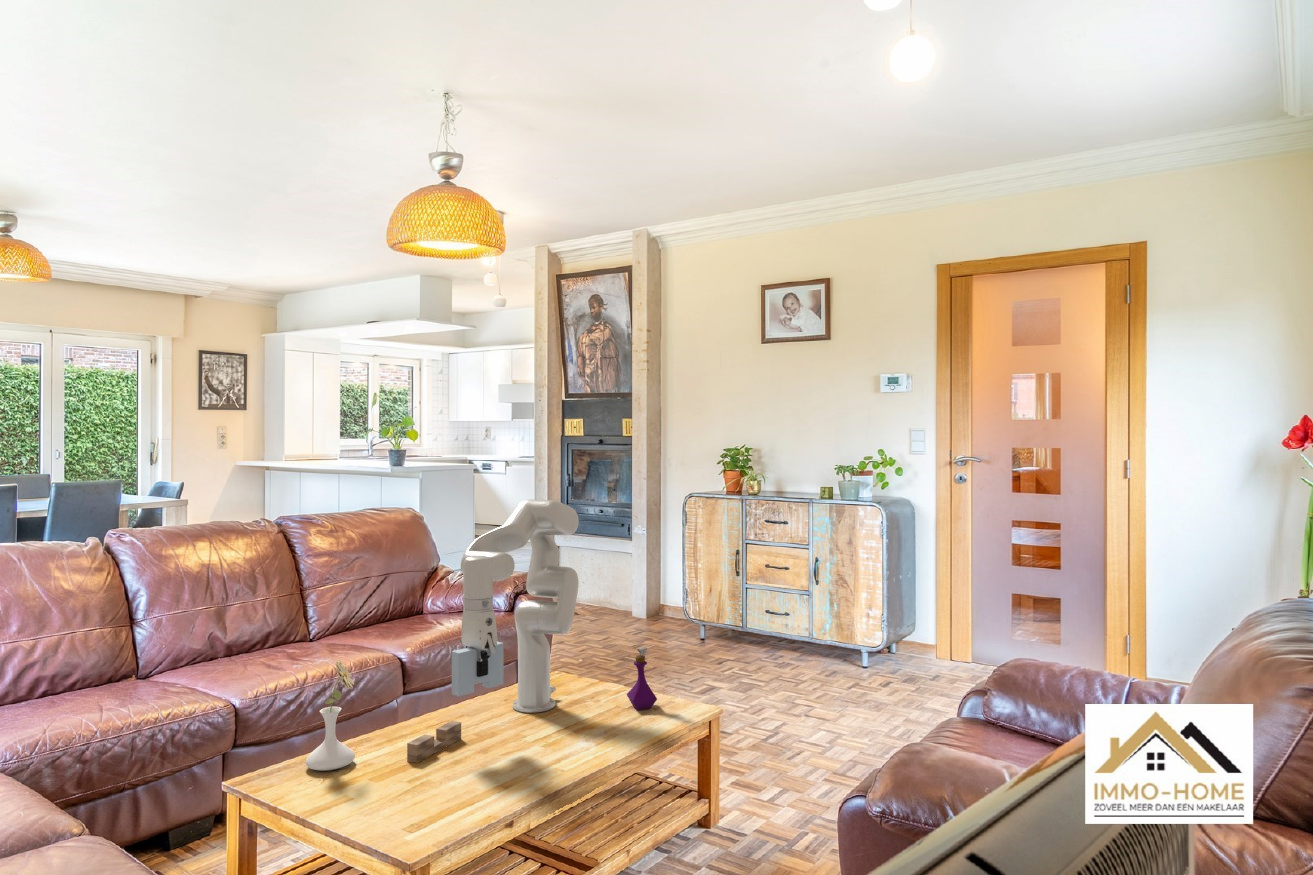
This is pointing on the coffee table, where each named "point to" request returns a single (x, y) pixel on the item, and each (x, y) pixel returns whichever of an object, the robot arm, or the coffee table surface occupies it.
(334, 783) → the coffee table surface
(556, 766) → the coffee table surface
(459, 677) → the blue grey notched plate
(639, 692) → the perfume bottle
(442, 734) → the brown notched bar
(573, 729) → the coffee table surface
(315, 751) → the flower in vase
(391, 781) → the coffee table surface
